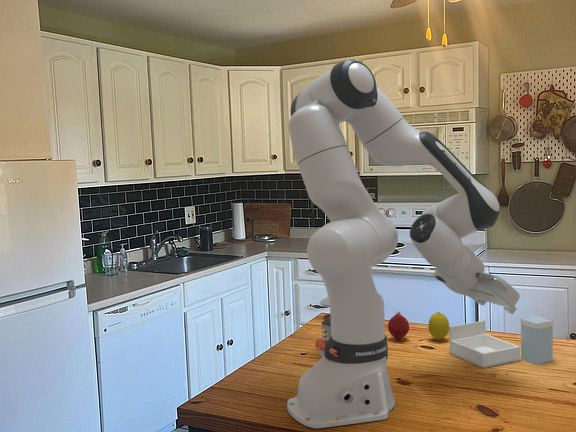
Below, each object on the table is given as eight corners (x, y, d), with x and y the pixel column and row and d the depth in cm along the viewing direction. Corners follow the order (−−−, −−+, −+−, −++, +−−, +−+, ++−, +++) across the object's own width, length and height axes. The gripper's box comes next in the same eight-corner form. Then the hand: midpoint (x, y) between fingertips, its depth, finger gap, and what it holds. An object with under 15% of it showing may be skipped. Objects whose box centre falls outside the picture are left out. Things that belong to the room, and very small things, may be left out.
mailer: (483, 368, 140) (482, 339, 139) (449, 353, 152) (449, 326, 151) (520, 360, 144) (519, 332, 143) (484, 346, 156) (484, 320, 155)
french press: (353, 345, 161) (350, 255, 159) (359, 360, 150) (356, 262, 147) (317, 347, 161) (313, 257, 158) (321, 362, 149) (317, 264, 147)
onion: (411, 342, 162) (410, 314, 161) (390, 343, 162) (389, 314, 161) (407, 336, 167) (406, 308, 167) (386, 337, 167) (386, 309, 167)
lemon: (452, 339, 163) (451, 310, 162) (445, 344, 159) (445, 315, 158) (432, 336, 166) (431, 308, 165) (425, 342, 161) (425, 313, 161)
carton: (536, 364, 141) (536, 323, 140) (520, 358, 146) (520, 318, 145) (553, 361, 143) (552, 320, 142) (536, 355, 148) (536, 315, 147)
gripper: (504, 266, 126) (539, 305, 130) (443, 254, 144) (475, 288, 149) (488, 290, 124) (524, 328, 129) (428, 274, 143) (461, 308, 148)
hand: (497, 306), depth 139 cm, fingers open, 8 cm apart
